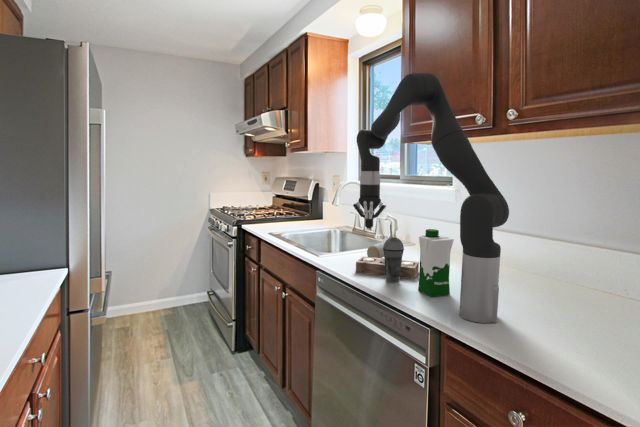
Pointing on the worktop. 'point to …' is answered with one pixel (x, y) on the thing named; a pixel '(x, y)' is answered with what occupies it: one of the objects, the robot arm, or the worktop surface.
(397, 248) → the beverage cup
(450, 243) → the milk carton
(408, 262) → the button
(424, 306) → the worktop surface
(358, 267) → the board
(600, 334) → the worktop surface
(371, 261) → the button
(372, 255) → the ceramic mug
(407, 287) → the worktop surface
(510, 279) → the worktop surface
